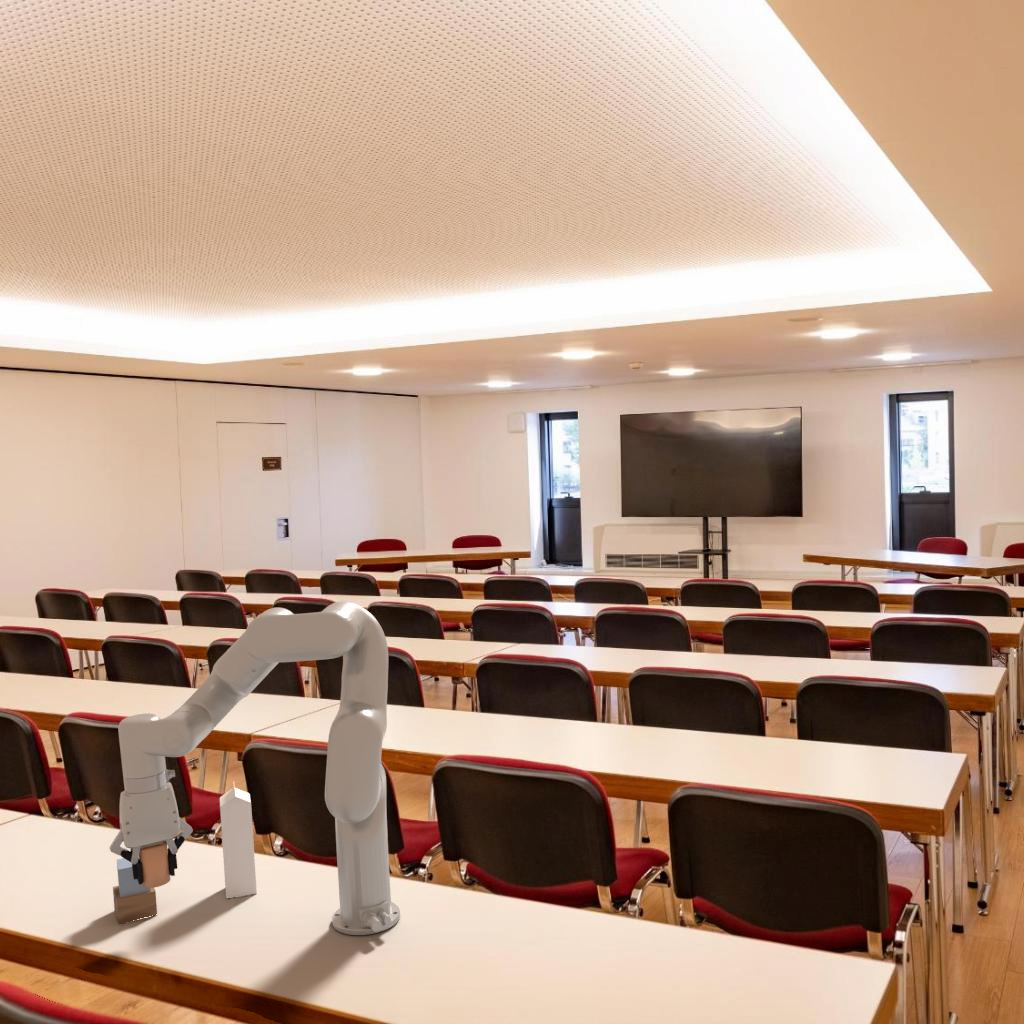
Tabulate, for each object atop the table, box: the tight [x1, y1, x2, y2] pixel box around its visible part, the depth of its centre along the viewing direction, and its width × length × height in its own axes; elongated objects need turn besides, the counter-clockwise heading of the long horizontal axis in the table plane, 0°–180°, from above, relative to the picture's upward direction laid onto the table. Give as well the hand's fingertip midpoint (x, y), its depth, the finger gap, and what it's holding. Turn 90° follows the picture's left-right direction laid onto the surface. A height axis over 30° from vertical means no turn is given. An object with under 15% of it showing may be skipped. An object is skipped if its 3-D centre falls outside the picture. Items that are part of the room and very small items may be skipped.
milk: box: [219, 780, 258, 900], centre depth 202 cm, size 6×6×22 cm
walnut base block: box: [112, 885, 158, 925], centre depth 194 cm, size 7×7×5 cm
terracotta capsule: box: [139, 841, 171, 889], centre depth 185 cm, size 5×5×7 cm
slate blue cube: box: [116, 857, 151, 898], centre depth 194 cm, size 6×6×6 cm
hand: (155, 876), depth 185 cm, fingers closed on terracotta capsule, 5 cm apart
